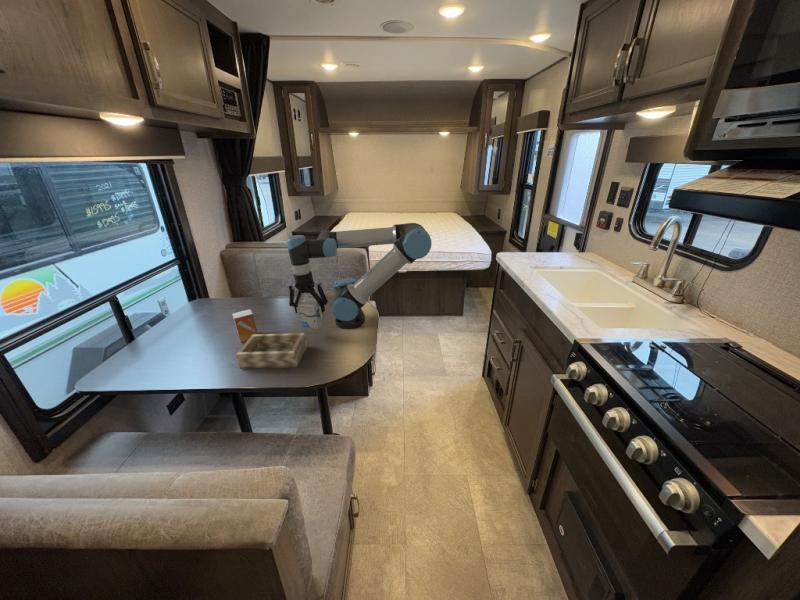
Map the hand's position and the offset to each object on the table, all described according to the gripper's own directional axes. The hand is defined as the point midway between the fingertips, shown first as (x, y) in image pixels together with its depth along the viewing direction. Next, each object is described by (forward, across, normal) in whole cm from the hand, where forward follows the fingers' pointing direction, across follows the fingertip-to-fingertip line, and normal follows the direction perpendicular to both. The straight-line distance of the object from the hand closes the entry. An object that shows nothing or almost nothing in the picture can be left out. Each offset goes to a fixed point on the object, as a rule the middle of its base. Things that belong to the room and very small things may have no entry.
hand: (311, 318), depth 140 cm
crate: (+10, +14, +14) cm, 22 cm away
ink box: (+4, 0, 0) cm, 4 cm away
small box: (+10, +33, -2) cm, 34 cm away
